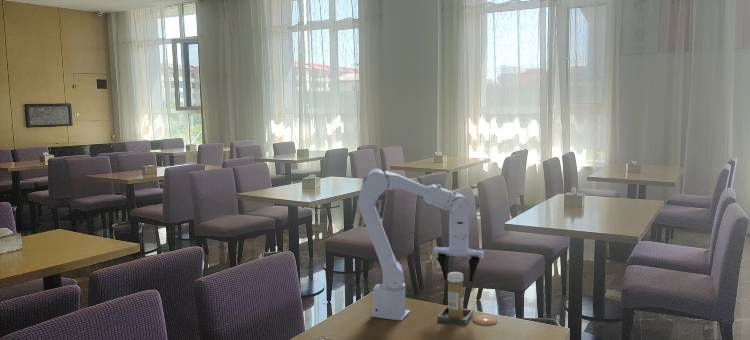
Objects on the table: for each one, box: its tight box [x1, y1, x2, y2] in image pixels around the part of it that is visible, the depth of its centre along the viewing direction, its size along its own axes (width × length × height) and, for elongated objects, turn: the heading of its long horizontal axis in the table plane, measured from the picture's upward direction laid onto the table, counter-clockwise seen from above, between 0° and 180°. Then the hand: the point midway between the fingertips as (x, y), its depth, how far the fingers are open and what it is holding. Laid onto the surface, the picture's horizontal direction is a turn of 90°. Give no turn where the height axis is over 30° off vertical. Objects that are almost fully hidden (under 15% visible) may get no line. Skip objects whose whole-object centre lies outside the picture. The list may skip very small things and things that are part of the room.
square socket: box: [437, 306, 474, 326], centre depth 169 cm, size 8×8×2 cm
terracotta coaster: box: [472, 314, 498, 326], centre depth 166 cm, size 7×7×1 cm
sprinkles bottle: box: [447, 271, 464, 319], centre depth 168 cm, size 5×5×14 cm
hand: (458, 279), depth 171 cm, fingers open, 7 cm apart
